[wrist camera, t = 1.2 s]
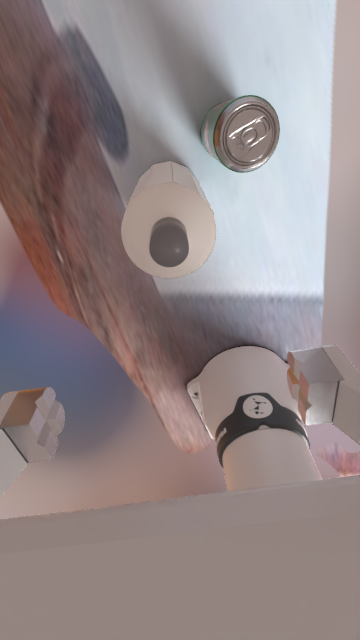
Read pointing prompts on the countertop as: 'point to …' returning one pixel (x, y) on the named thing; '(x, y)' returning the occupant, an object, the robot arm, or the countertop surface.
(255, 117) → the soda can
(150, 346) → the countertop surface
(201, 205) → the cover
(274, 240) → the countertop surface
